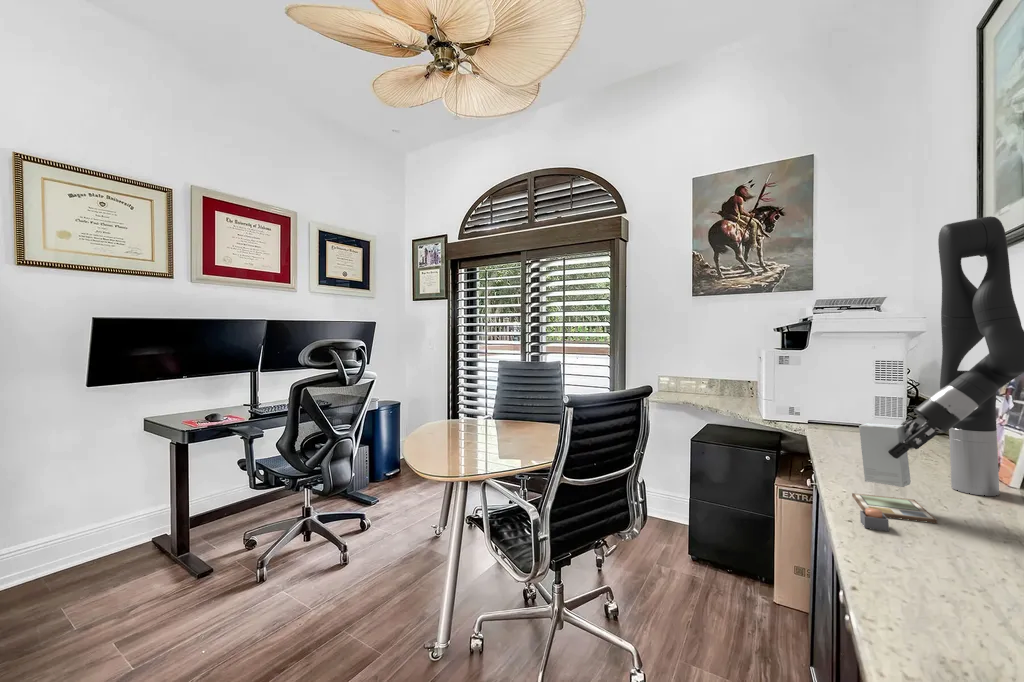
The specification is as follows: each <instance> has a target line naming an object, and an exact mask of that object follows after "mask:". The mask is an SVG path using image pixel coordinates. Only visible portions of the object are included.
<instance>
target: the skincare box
mask: <svg viewBox="0 0 1024 682" xmlns="http://www.w3.org/2000/svg"><path fill="white" fill-rule="evenodd" d="M858 428H859V437H860V447H861V448H860V449H861V457H862V465H863V468H862V469H863V475H864V477H863V478H864V482H867V483H875V484H881V485H887V486H894V487H898V488H899V487H900V488H905V487H907V486H910V484H911V472H910V463H909V457H908V455H909V454H908V451H907V452H906V453H904V454H903V455H902V456H900V457H899V458H897V459H896V458H894V457H893V456H892V455H890V454H889V453H888V451H889V450H890V449H892V448H893V447H894V446H896V445H897V444H898V443H900V442H901V441H902V440H903V439H904V438H905V435H904V434H905V428H904V425H901V424H887V423H872V422H871V423H870V422H869V423H868V422H866V423H863V424H861V425H859V426H858ZM901 443H902V442H901Z"/></svg>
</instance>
